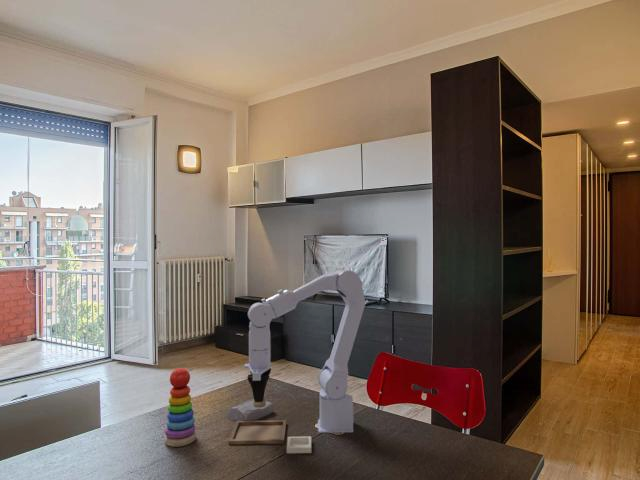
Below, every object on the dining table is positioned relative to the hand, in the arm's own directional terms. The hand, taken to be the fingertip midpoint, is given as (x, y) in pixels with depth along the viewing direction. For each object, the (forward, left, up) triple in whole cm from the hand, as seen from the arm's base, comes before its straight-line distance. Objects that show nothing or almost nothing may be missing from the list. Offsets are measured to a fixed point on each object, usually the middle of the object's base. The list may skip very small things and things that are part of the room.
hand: (259, 398), depth 116 cm
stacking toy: (+20, +3, -10) cm, 23 cm away
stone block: (+5, -13, -10) cm, 17 cm away
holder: (-11, +8, -10) cm, 16 cm away
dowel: (0, 0, -2) cm, 2 cm away
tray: (0, 0, -10) cm, 10 cm away
